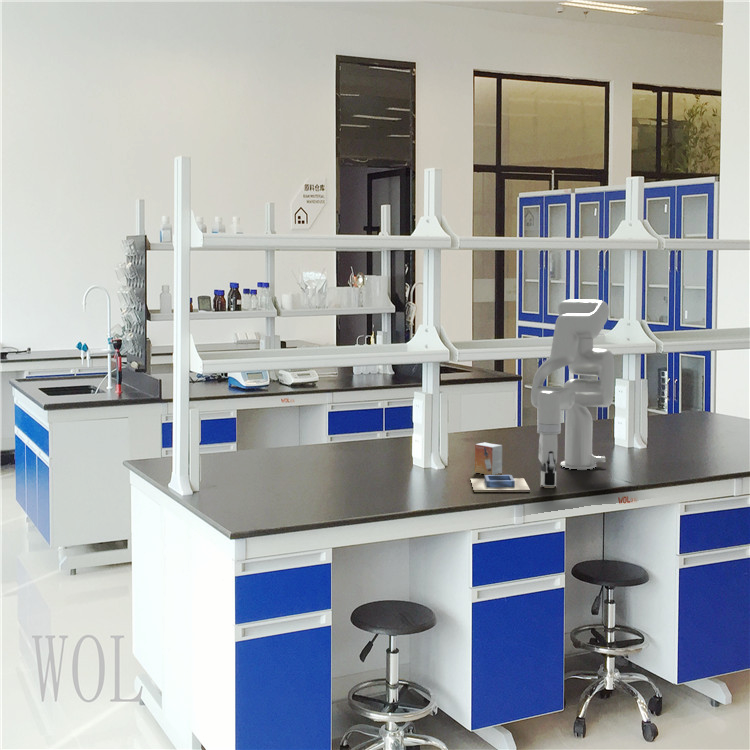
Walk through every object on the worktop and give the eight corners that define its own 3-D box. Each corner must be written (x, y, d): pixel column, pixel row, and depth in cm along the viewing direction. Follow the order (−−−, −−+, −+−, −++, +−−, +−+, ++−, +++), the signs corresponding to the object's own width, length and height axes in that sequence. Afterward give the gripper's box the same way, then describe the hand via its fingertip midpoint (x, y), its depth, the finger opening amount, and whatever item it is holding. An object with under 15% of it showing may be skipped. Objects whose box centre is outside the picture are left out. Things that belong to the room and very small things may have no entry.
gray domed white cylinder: (554, 485, 326) (555, 464, 325) (557, 488, 321) (557, 467, 320) (539, 485, 326) (539, 464, 325) (541, 488, 321) (541, 467, 320)
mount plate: (523, 481, 332) (524, 472, 331) (529, 492, 316) (530, 483, 315) (470, 481, 332) (470, 472, 332) (473, 492, 316) (473, 483, 316)
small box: (474, 473, 344) (474, 444, 342) (484, 471, 348) (484, 441, 346) (492, 477, 338) (492, 447, 337) (502, 474, 342) (502, 444, 341)
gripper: (533, 423, 330) (533, 477, 332) (541, 433, 313) (540, 489, 315) (556, 423, 329) (555, 477, 332) (564, 433, 313) (564, 489, 315)
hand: (548, 482), depth 323 cm, fingers closed on gray domed white cylinder, 5 cm apart
